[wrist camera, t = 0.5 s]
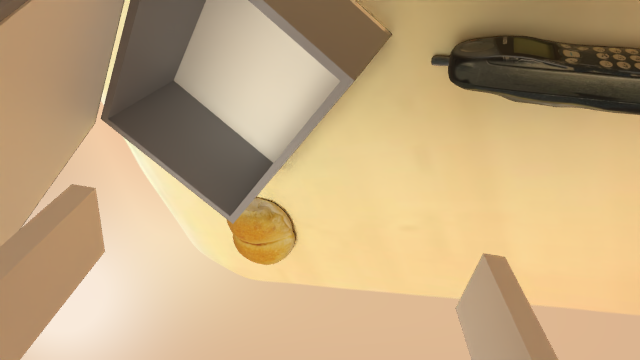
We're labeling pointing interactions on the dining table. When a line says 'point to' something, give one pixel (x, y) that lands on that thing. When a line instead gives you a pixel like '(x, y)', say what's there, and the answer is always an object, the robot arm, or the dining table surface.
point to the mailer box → (233, 85)
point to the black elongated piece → (548, 72)
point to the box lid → (47, 93)
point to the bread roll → (263, 232)
